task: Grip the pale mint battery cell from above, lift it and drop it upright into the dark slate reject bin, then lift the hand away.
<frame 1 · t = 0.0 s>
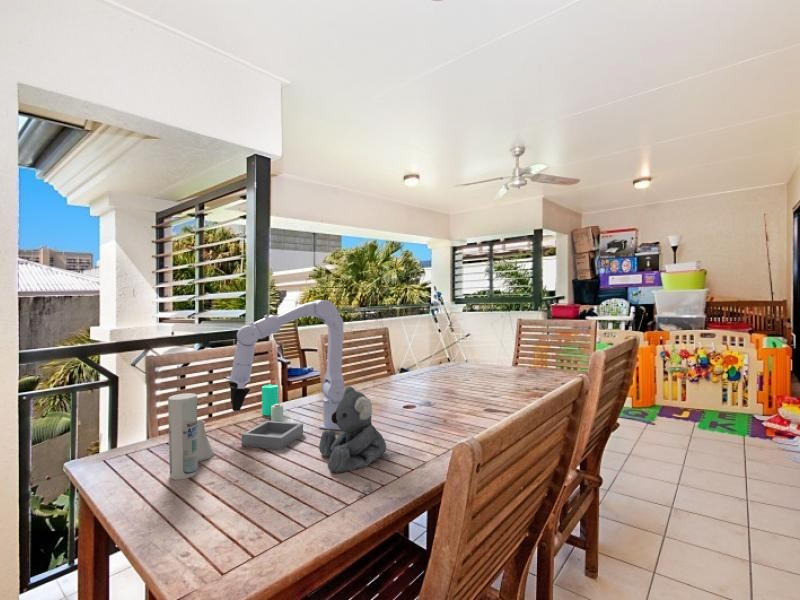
hand: (235, 407, 126), 11 cm above the table, tool pointing down, fingers open, 7 cm apart
cell: (277, 426, 140), on the table
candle: (270, 413, 155), on the table
koala plush: (355, 459, 113), on the table
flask: (199, 458, 114), on the table
spray can: (183, 474, 103), on the table
reject bin: (273, 439, 127), on the table
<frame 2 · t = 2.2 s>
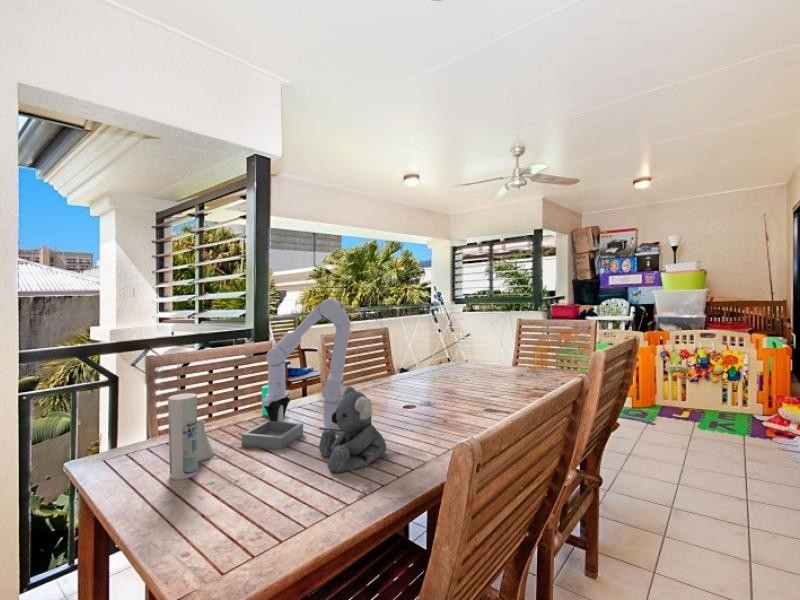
hand: (277, 421, 140), 2 cm above the table, tool pointing down, fingers closed on cell, 4 cm apart
cell: (277, 426, 140), on the table, touching gripper
everything else where it was.
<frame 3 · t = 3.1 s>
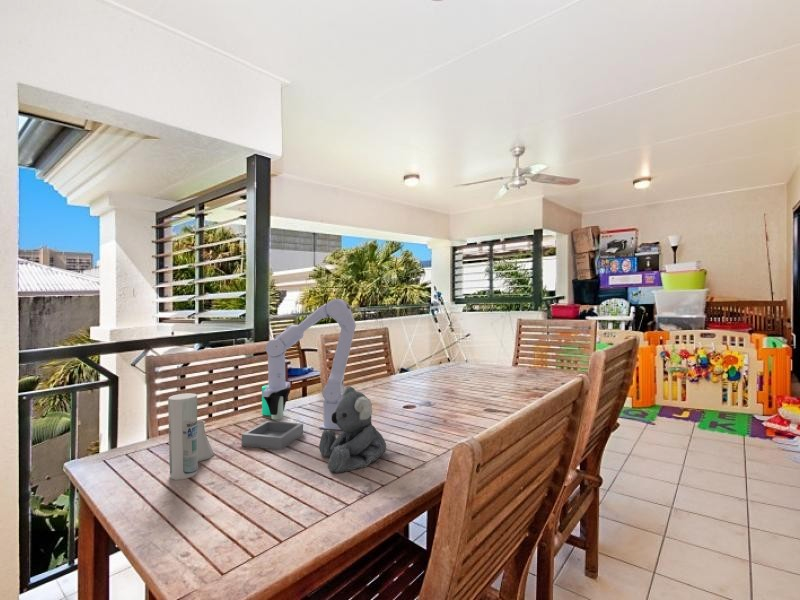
hand: (277, 412, 140), 5 cm above the table, tool pointing down, fingers closed on cell, 4 cm apart
cell: (277, 417, 140), point 3 cm above the table, touching gripper
everything else where it was.
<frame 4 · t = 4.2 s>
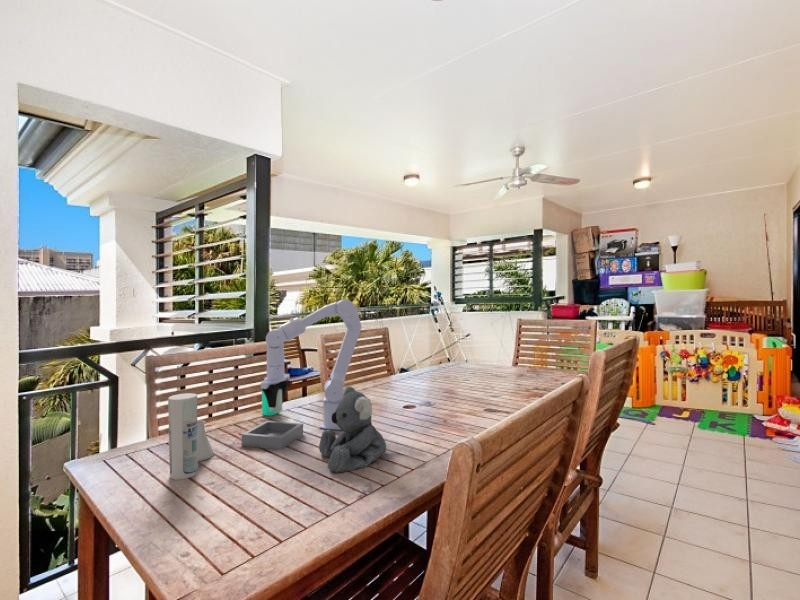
hand: (276, 405, 136), 8 cm above the table, tool pointing down, fingers closed on cell, 4 cm apart
cell: (276, 410, 136), point 7 cm above the table, touching gripper
everything else where it was.
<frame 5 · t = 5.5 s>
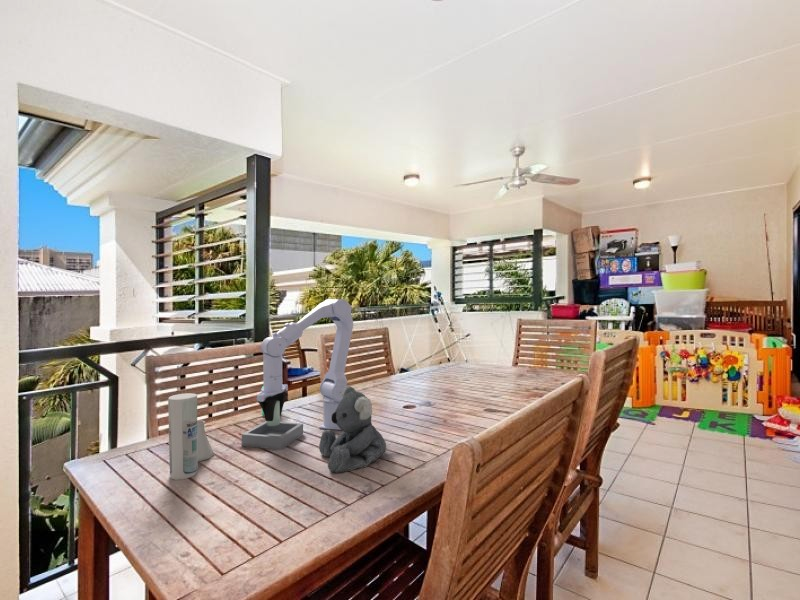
hand: (273, 418, 127), 7 cm above the table, tool pointing down, fingers closed on cell, 4 cm apart
cell: (273, 424, 127), point 5 cm above the table, touching gripper
everything else where it was.
when the fingers open (4 cm above the table, at t = 6.5 s): cell drops 2 cm, resting on reject bin.
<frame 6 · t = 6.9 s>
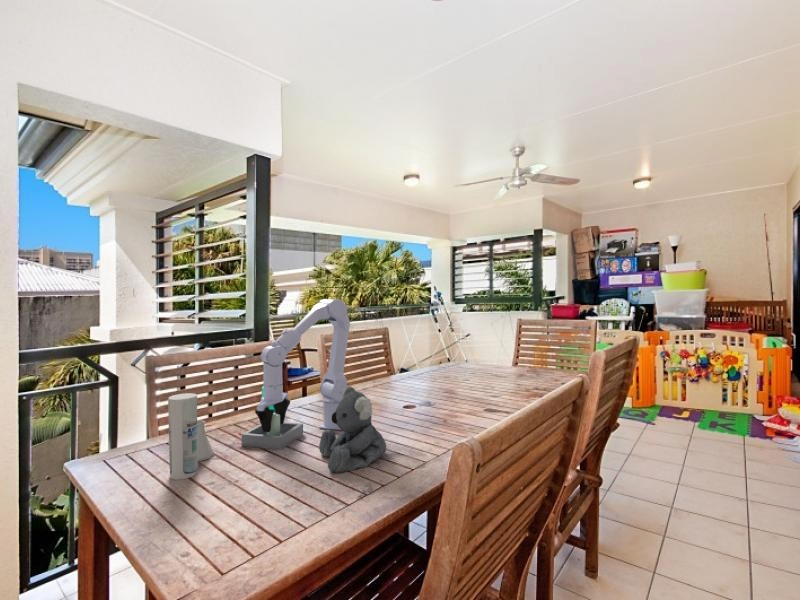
hand: (273, 427, 127), 4 cm above the table, tool pointing down, fingers open, 7 cm apart
cell: (273, 437, 127), point 1 cm above the table, touching reject bin
everything else where it was.
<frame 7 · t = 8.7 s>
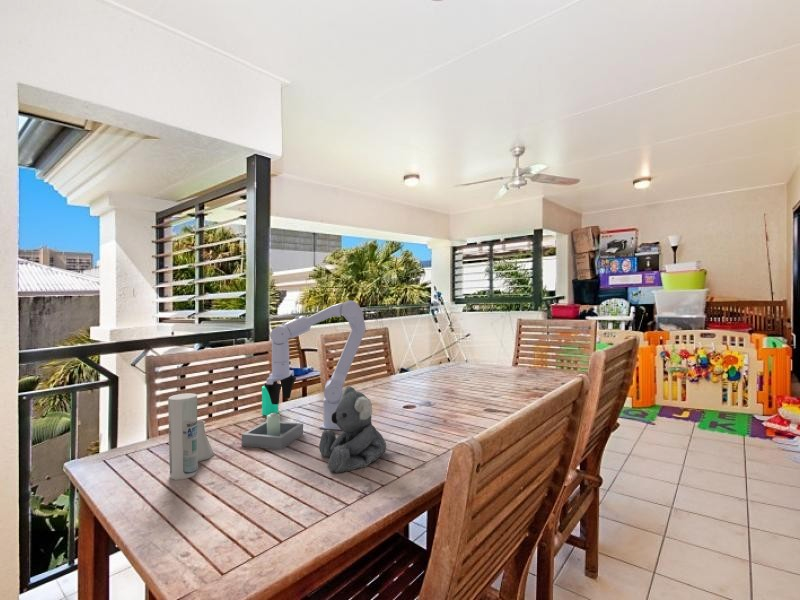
hand: (281, 401, 137), 9 cm above the table, tool pointing down, fingers open, 7 cm apart
nothing on the table moved.
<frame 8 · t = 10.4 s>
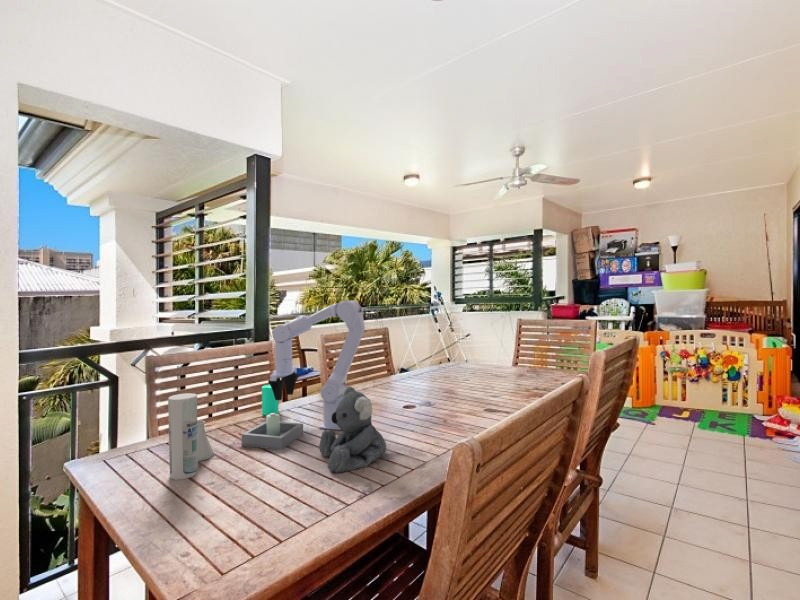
hand: (284, 397, 142), 9 cm above the table, tool pointing down, fingers open, 7 cm apart
nothing on the table moved.
at the end: cell inside the target area on the reject bin (0.0 cm from its centre), point 0.6 cm above the reject bin's base; cell tilted 1°; the gripper is holding nothing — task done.
